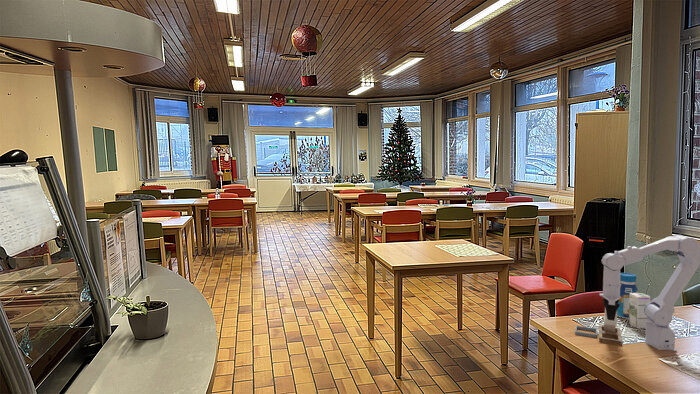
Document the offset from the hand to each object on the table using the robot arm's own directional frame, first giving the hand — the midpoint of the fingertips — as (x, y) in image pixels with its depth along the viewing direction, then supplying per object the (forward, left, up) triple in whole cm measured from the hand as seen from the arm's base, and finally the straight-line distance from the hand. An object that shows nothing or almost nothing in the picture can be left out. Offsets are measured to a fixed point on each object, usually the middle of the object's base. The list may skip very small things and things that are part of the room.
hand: (610, 318), depth 170 cm
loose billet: (0, 0, -2) cm, 2 cm away
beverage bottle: (+30, -25, -10) cm, 40 cm away
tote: (+8, +5, -10) cm, 14 cm away
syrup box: (+16, -22, -10) cm, 29 cm away
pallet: (+4, -2, -10) cm, 11 cm away
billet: (+7, -4, -9) cm, 12 cm away
